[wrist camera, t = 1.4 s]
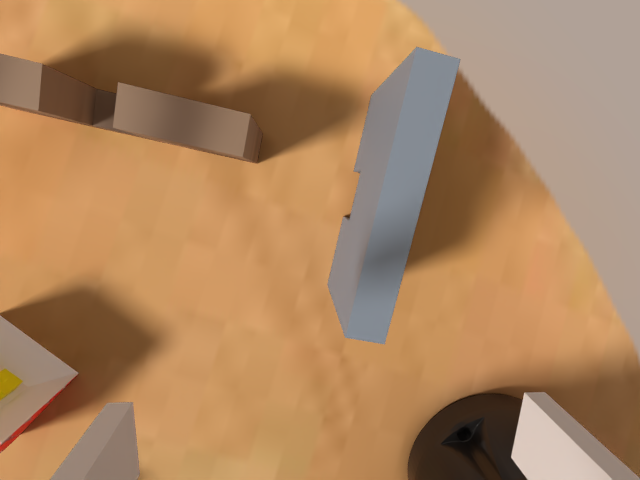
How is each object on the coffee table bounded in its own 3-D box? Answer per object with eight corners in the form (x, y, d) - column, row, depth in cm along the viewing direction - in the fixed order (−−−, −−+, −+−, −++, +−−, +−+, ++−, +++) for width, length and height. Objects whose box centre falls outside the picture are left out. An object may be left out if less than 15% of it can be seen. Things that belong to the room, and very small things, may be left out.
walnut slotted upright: (262, 133, 27) (250, 114, 19) (256, 163, 27) (242, 157, 19) (17, 75, 25) (-110, 26, 17) (15, 109, 25) (-111, 77, 17)
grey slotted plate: (399, 102, 27) (460, 59, 17) (354, 289, 30) (384, 344, 20) (371, 95, 27) (416, 46, 17) (327, 284, 29) (345, 337, 20)
